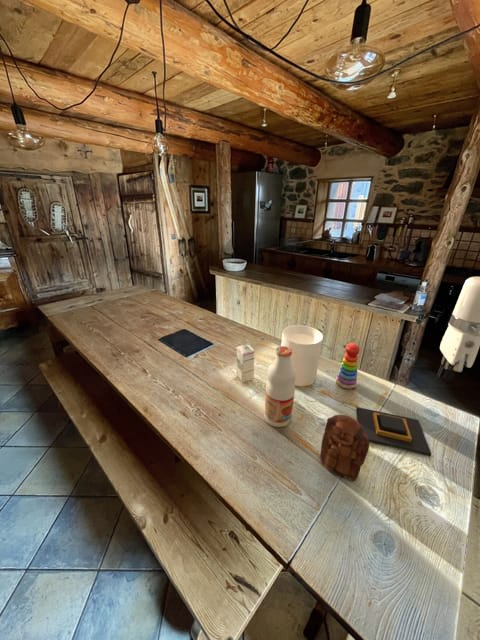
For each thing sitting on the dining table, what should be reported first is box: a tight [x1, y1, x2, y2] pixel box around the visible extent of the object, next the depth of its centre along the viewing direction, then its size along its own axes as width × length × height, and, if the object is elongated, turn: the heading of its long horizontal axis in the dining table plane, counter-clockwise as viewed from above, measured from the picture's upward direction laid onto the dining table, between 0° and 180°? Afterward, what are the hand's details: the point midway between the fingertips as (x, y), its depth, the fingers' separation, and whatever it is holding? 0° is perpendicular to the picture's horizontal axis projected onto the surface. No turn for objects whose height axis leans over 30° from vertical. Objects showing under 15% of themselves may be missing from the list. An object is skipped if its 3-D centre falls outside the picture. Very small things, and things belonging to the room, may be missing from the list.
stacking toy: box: [335, 342, 361, 390], centre depth 106 cm, size 8×8×19 cm
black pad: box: [378, 414, 406, 435], centre depth 88 cm, size 7×6×3 cm
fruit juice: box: [263, 345, 296, 428], centre depth 87 cm, size 9×9×28 cm
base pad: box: [356, 406, 432, 457], centre depth 88 cm, size 20×14×2 cm
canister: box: [280, 324, 324, 387], centre depth 111 cm, size 16×16×20 cm
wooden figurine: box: [319, 414, 370, 482], centre depth 73 cm, size 12×6×18 cm, turn 56°
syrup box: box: [236, 343, 256, 383], centre depth 110 cm, size 6×6×14 cm
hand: (443, 378), depth 79 cm, fingers closed
